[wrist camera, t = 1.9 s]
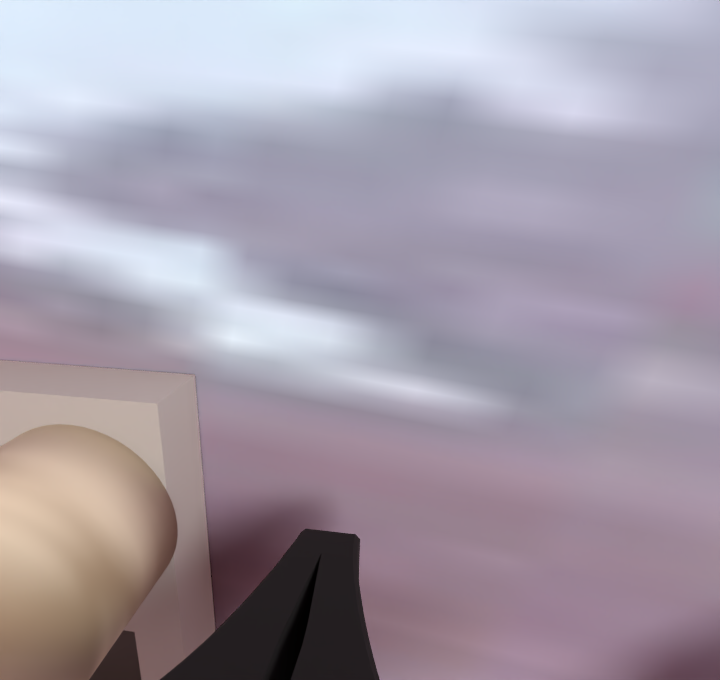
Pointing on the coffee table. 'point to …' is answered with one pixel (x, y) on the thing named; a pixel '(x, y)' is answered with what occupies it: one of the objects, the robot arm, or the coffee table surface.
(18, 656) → the beige rounded knob
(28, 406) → the trap board
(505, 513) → the coffee table surface
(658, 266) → the coffee table surface
